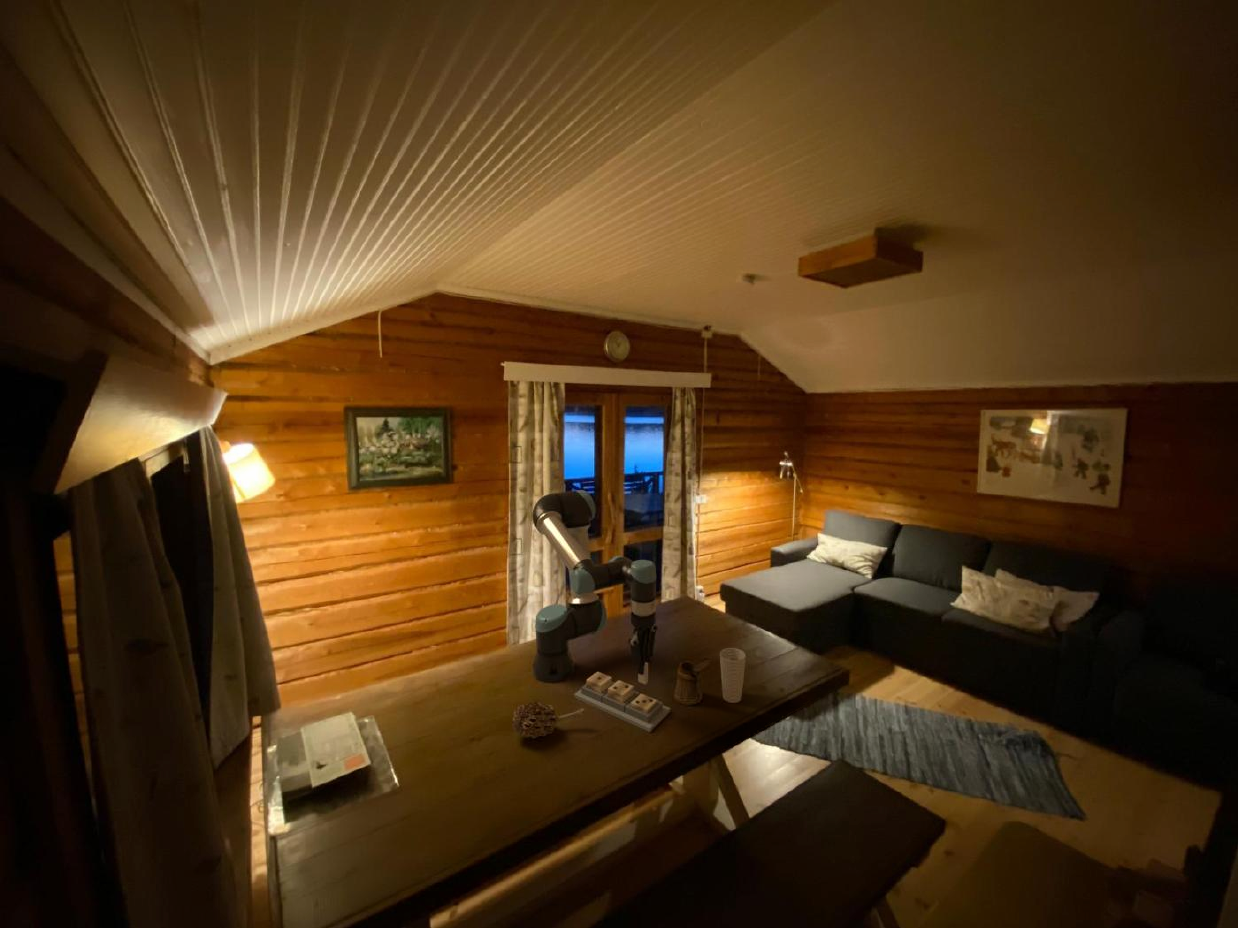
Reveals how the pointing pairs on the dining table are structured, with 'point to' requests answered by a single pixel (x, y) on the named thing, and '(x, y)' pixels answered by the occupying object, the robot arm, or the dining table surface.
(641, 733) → the dining table surface
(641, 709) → the tile
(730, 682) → the cup
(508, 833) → the dining table surface
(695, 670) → the wooden mug
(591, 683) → the tan square block
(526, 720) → the pine cone
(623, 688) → the tile
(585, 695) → the button board
